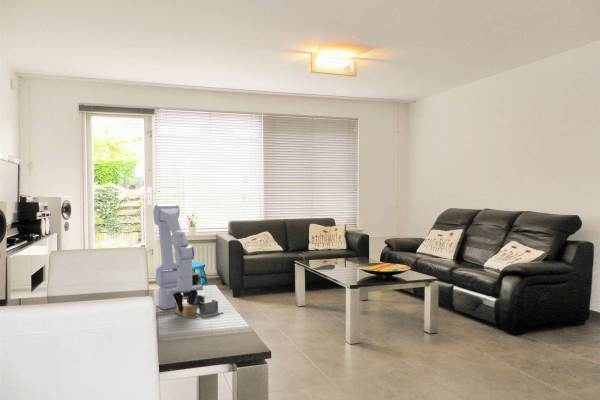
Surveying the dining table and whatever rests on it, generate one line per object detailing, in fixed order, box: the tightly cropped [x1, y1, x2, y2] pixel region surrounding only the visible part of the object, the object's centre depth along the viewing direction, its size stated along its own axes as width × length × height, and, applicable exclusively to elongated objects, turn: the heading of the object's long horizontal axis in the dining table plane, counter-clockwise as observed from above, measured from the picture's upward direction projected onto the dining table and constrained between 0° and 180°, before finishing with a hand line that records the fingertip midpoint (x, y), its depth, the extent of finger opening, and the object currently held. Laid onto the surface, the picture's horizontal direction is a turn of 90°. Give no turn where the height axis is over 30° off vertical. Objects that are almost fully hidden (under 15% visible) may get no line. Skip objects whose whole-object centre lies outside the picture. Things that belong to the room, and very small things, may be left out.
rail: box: [174, 300, 198, 319], centre depth 185 cm, size 14×4×4 cm, turn 36°
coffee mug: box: [182, 272, 207, 297], centre depth 225 cm, size 12×9×10 cm
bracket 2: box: [199, 299, 219, 315], centre depth 184 cm, size 4×6×4 cm, turn 126°
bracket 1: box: [186, 294, 206, 308], centre depth 194 cm, size 4×6×4 cm, turn 126°
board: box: [197, 308, 224, 318], centre depth 189 cm, size 19×8×1 cm, turn 36°
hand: (185, 310), depth 185 cm, fingers closed on rail, 3 cm apart
